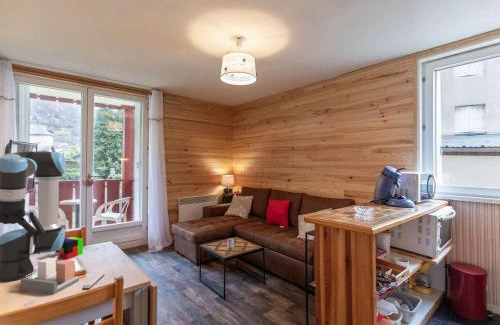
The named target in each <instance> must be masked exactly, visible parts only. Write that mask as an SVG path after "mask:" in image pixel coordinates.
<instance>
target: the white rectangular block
mask: <svg viewBox="0 0 500 325" xmlns="http://www.w3.org/2000/svg"><path fill="white" fill-rule="evenodd" d="M56 264H57V258H56V257H55V258H54V257H46V258H43V259H40V260H39V261H37V275H36V276H37V279H39V280H46V279H48V278H50V277H52V276H55V275H56Z"/></svg>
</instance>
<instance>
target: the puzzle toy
mask: <svg viewBox="0 0 500 325" xmlns="http://www.w3.org/2000/svg"><path fill="white" fill-rule="evenodd" d="M83 247H84V238H81V237H76V236H75V237H74V236H70V237H66V238H64V242H63V245H62V247H61V249H60V250H57V251H55V255H56V256H58V257H59V258H58V259H62V260H71V259H73V258H77V257H78V256H81V255H83V254H84V248H83ZM55 255H54V256H55Z"/></svg>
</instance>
